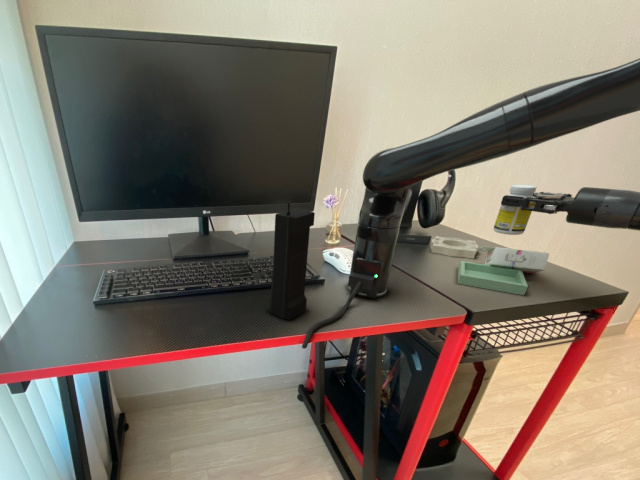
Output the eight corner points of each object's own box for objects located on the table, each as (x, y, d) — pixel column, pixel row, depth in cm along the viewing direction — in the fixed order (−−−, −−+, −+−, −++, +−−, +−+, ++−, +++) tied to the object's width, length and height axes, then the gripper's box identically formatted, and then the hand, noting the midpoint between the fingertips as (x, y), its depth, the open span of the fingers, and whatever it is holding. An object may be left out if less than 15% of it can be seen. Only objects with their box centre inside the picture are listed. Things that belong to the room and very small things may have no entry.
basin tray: (524, 295, 79) (528, 286, 78) (457, 283, 86) (460, 275, 85) (518, 278, 88) (521, 269, 87) (458, 268, 95) (461, 260, 94)
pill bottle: (521, 230, 82) (539, 185, 77) (524, 236, 77) (543, 188, 72) (491, 228, 85) (506, 183, 80) (493, 233, 80) (508, 186, 75)
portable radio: (288, 300, 79) (294, 194, 67) (309, 308, 75) (319, 198, 63) (267, 312, 74) (270, 200, 62) (288, 321, 70) (295, 204, 58)
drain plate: (476, 259, 101) (478, 252, 100) (428, 252, 107) (430, 245, 106) (475, 247, 111) (477, 240, 110) (431, 242, 117) (433, 235, 116)
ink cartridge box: (532, 274, 91) (471, 265, 98) (537, 257, 91) (475, 249, 97) (545, 271, 84) (477, 262, 90) (550, 252, 83) (482, 244, 89)
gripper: (618, 185, 69) (522, 179, 81) (607, 193, 61) (502, 185, 73) (601, 220, 73) (511, 209, 84) (588, 232, 65) (491, 218, 77)
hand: (507, 198), depth 79 cm, fingers closed on pill bottle, 6 cm apart
